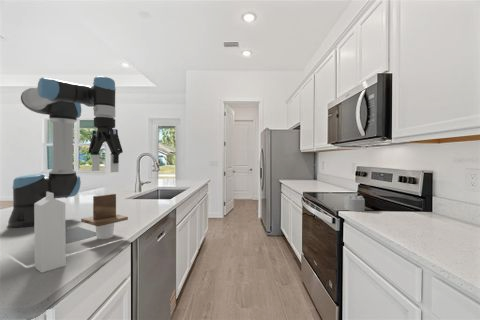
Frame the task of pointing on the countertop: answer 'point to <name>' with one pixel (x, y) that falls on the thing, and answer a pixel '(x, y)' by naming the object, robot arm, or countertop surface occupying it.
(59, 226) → the milk
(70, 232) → the mat
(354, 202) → the lumpy-topped squat cylinder
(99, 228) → the white grey-rimmed cup
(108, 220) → the board
